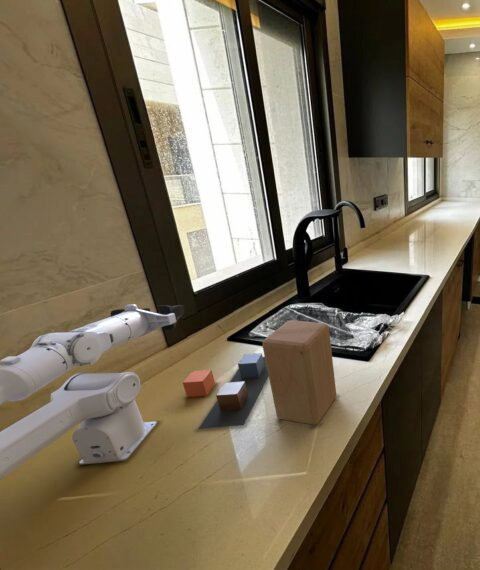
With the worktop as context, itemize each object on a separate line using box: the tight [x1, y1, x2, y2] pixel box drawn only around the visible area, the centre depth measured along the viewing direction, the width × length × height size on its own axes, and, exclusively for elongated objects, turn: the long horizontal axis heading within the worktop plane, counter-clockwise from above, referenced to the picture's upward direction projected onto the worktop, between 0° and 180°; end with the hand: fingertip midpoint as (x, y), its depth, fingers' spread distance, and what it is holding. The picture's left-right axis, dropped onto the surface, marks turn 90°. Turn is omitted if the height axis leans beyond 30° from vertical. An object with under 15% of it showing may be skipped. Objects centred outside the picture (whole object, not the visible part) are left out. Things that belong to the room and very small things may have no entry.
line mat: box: [198, 356, 269, 430], centre depth 81 cm, size 26×9×1 cm, turn 7°
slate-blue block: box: [237, 352, 265, 378], centre depth 85 cm, size 4×4×4 cm
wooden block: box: [262, 319, 337, 426], centre depth 71 cm, size 10×10×20 cm
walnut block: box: [215, 381, 248, 411], centre depth 74 cm, size 4×4×4 cm
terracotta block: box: [182, 369, 216, 398], centre depth 79 cm, size 4×4×4 cm
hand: (165, 310), depth 77 cm, fingers open, 7 cm apart
